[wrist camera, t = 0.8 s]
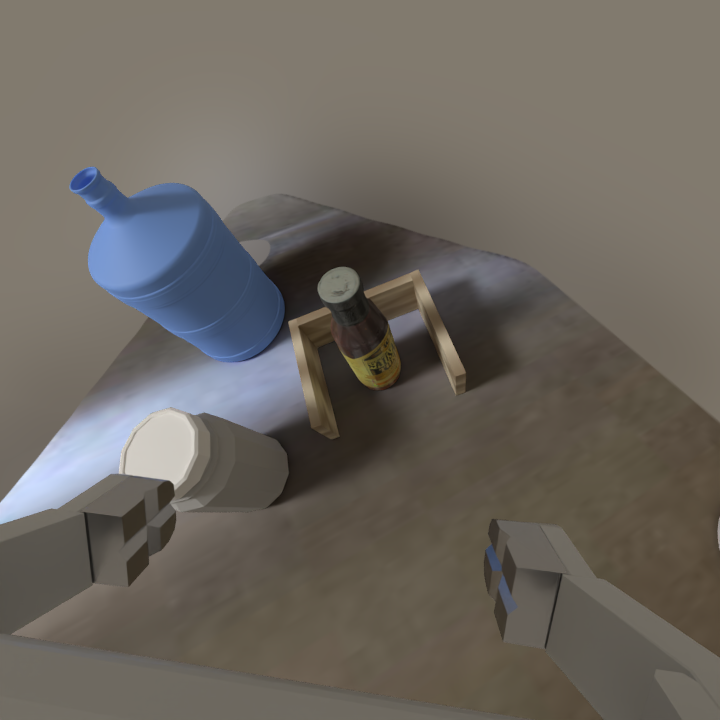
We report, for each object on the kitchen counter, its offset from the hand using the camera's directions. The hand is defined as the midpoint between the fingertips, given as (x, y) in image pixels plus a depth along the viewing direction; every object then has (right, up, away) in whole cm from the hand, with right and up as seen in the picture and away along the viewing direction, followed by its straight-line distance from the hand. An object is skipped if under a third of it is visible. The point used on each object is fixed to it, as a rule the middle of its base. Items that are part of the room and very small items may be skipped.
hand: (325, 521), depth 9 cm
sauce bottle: (+4, +3, +40) cm, 40 cm away
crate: (+4, +3, +40) cm, 40 cm away
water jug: (-18, +11, +50) cm, 54 cm away
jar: (-13, -11, +39) cm, 42 cm away
